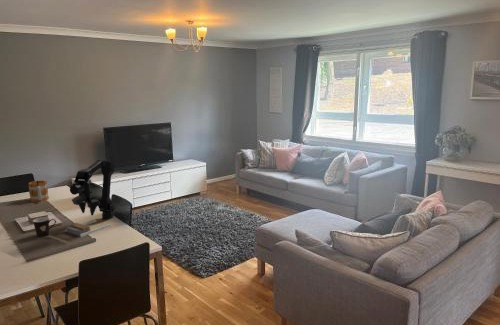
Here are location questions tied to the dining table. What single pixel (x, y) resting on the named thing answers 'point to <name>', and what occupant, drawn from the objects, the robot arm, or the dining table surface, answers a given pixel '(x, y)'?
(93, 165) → the robot arm
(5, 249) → the dining table surface
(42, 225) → the coffee mug
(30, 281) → the dining table surface
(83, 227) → the walnut slider
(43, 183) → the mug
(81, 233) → the rail plate
